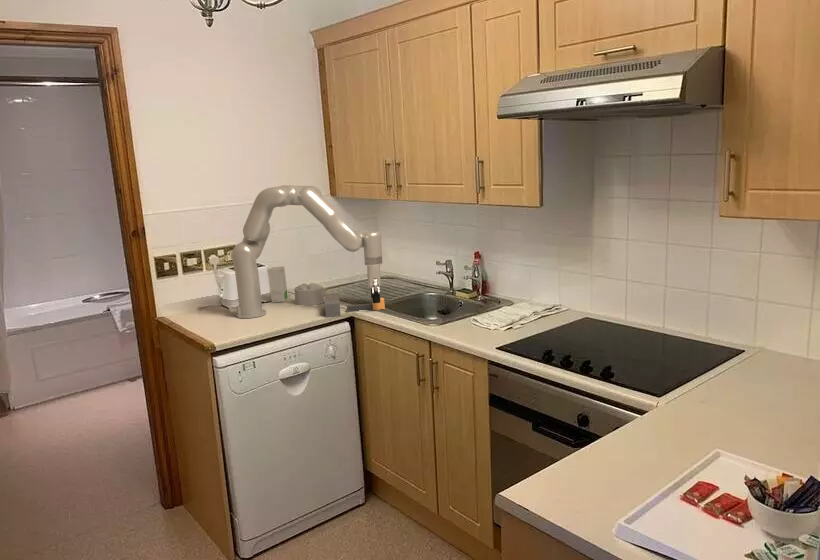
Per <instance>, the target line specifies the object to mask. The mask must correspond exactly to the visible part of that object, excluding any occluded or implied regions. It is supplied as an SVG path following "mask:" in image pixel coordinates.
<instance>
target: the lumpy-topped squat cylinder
mask: <svg viewBox="0 0 820 560" xmlns="http://www.w3.org/2000/svg"><path fill="white" fill-rule="evenodd" d="M294 300H295V305H297V306H300V305H304V306H303V307H315V306H314V305H316V306H318V304H319V305H321V304H323V303H322V302H324V303H325V294H324V286H323V285H320V284H316V283H315V282H311V283H309V284H307V283H302V284H299V285H297V286H295V287H294ZM320 303H321V304H320Z"/></svg>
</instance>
